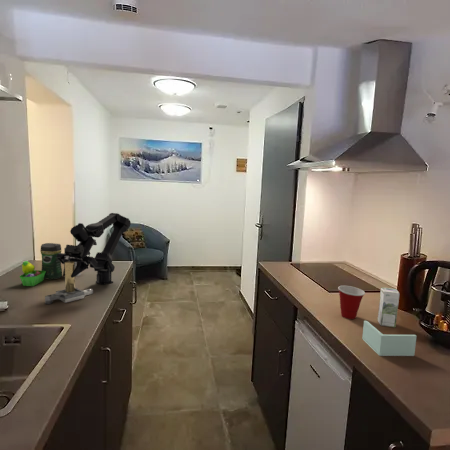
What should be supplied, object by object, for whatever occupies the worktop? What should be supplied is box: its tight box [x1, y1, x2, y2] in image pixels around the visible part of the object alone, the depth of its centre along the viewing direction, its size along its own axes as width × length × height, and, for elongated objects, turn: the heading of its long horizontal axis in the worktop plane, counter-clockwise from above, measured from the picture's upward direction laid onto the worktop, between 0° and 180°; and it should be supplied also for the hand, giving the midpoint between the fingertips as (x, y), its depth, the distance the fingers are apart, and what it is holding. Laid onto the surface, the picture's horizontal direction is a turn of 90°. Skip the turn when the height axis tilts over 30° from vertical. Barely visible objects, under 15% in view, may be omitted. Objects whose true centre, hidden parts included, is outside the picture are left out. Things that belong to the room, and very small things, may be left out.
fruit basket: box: [19, 260, 46, 287], centre depth 171 cm, size 11×9×11 cm
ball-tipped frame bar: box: [44, 287, 94, 305], centre depth 153 cm, size 21×9×3 cm, turn 141°
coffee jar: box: [40, 242, 63, 280], centre depth 181 cm, size 10×8×19 cm
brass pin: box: [64, 261, 76, 292], centre depth 152 cm, size 4×4×13 cm
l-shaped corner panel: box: [362, 320, 417, 357], centre depth 118 cm, size 12×12×8 cm
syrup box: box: [377, 287, 400, 328], centre depth 137 cm, size 6×6×14 cm
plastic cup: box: [337, 285, 366, 320], centre depth 144 cm, size 11×11×12 cm
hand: (67, 276), depth 151 cm, fingers closed on brass pin, 4 cm apart
